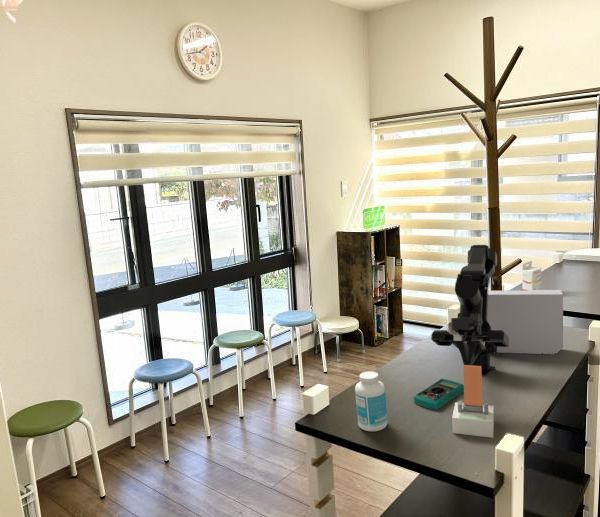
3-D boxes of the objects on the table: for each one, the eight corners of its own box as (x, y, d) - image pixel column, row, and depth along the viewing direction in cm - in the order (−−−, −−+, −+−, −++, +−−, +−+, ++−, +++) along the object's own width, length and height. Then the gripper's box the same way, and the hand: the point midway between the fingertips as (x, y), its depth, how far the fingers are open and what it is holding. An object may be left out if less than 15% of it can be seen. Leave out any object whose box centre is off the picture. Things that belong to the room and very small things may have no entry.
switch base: (455, 417, 127) (455, 394, 126) (494, 420, 124) (493, 398, 122) (452, 433, 120) (451, 409, 119) (493, 437, 116) (492, 413, 115)
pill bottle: (389, 419, 129) (386, 369, 127) (385, 434, 122) (381, 381, 120) (361, 417, 131) (357, 368, 129) (355, 431, 125) (351, 380, 122)
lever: (463, 409, 122) (463, 364, 123) (483, 411, 121) (482, 366, 121) (463, 411, 121) (462, 365, 122) (482, 413, 119) (482, 367, 120)
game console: (472, 345, 174) (470, 290, 170) (560, 348, 164) (560, 289, 161) (472, 352, 168) (470, 294, 165) (563, 355, 159) (562, 294, 156)
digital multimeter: (412, 405, 136) (411, 394, 136) (441, 385, 146) (441, 376, 146) (436, 412, 131) (435, 402, 131) (465, 392, 141) (464, 382, 140)
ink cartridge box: (533, 296, 225) (532, 264, 222) (522, 295, 229) (521, 263, 226) (541, 292, 230) (541, 261, 228) (531, 291, 234) (530, 260, 232)
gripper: (426, 303, 134) (420, 360, 128) (498, 301, 124) (496, 363, 118) (440, 317, 142) (436, 372, 136) (510, 316, 132) (508, 375, 125)
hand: (467, 370), depth 129 cm, fingers closed
